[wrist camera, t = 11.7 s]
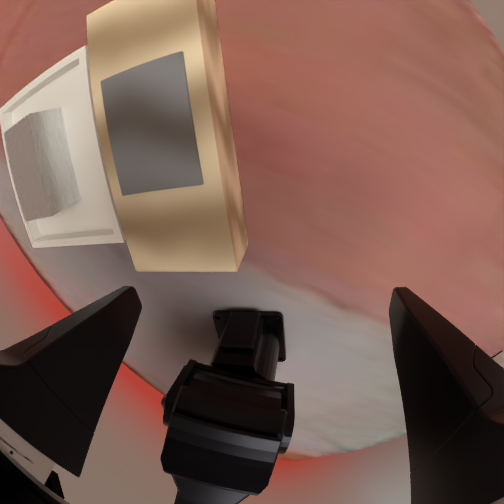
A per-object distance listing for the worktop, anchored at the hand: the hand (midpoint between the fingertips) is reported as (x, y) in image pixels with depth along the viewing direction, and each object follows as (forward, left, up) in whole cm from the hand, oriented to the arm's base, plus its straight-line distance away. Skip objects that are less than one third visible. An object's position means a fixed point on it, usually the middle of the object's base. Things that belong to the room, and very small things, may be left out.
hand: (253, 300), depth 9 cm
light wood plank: (+6, +7, -12) cm, 15 cm away
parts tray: (+6, +21, -12) cm, 24 cm away
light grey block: (+6, +21, -11) cm, 24 cm away
